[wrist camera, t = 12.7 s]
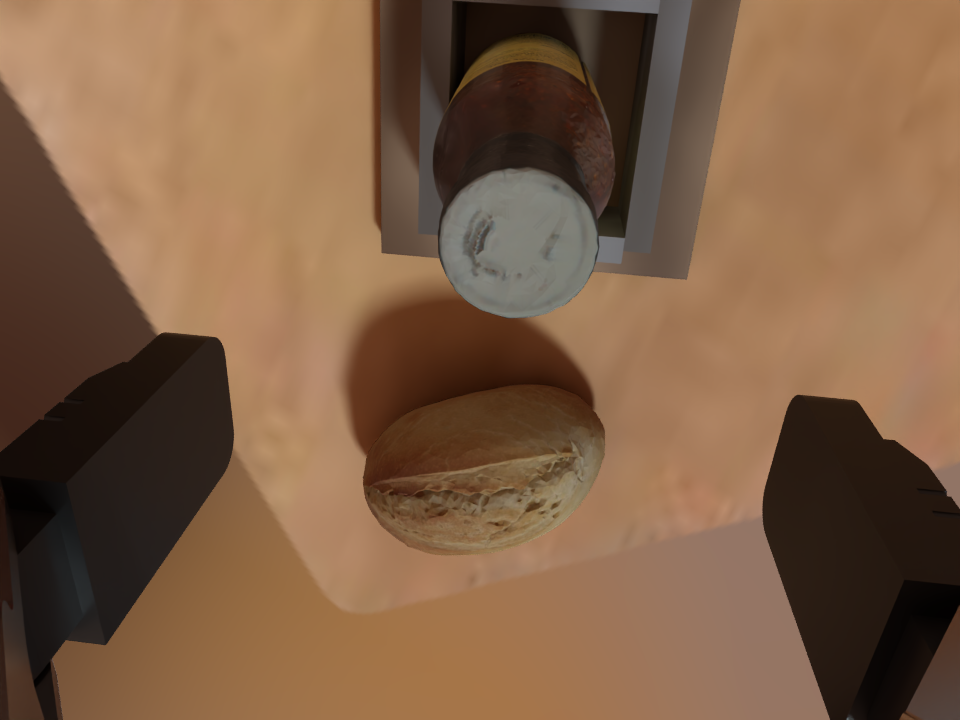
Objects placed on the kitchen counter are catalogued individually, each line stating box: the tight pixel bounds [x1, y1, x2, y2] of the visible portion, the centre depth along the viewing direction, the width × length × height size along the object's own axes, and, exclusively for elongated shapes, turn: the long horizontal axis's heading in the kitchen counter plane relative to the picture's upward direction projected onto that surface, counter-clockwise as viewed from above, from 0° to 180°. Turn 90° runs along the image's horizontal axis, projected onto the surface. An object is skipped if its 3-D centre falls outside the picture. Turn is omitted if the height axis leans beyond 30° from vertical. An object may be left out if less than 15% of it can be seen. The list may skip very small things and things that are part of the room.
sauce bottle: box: [433, 33, 615, 318], centre depth 27 cm, size 6×6×20 cm
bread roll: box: [363, 384, 605, 555], centre depth 43 cm, size 10×15×8 cm, turn 112°
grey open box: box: [380, 0, 741, 280], centre depth 34 cm, size 16×16×6 cm
